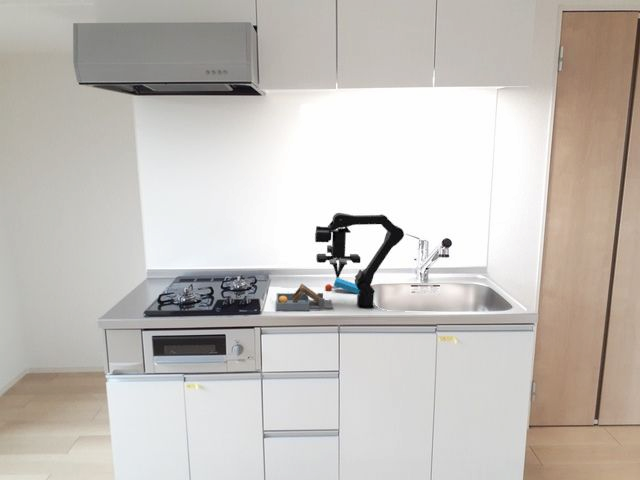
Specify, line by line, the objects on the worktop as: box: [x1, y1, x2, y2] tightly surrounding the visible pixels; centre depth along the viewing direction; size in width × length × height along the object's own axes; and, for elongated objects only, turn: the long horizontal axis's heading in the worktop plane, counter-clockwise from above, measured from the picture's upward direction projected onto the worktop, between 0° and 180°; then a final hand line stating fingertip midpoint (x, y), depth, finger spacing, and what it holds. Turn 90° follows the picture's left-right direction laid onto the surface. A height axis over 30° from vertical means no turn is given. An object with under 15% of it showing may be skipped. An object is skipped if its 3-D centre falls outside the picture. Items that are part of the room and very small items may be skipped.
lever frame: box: [309, 292, 334, 311], centre depth 204 cm, size 10×10×4 cm
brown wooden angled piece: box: [292, 283, 321, 303], centre depth 203 cm, size 8×7×11 cm
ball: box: [278, 296, 287, 303], centre depth 202 cm, size 4×4×4 cm
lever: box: [324, 277, 360, 295], centre depth 227 cm, size 7×7×18 cm
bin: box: [275, 292, 310, 312], centre depth 203 cm, size 14×14×4 cm
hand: (337, 277), depth 203 cm, fingers closed
